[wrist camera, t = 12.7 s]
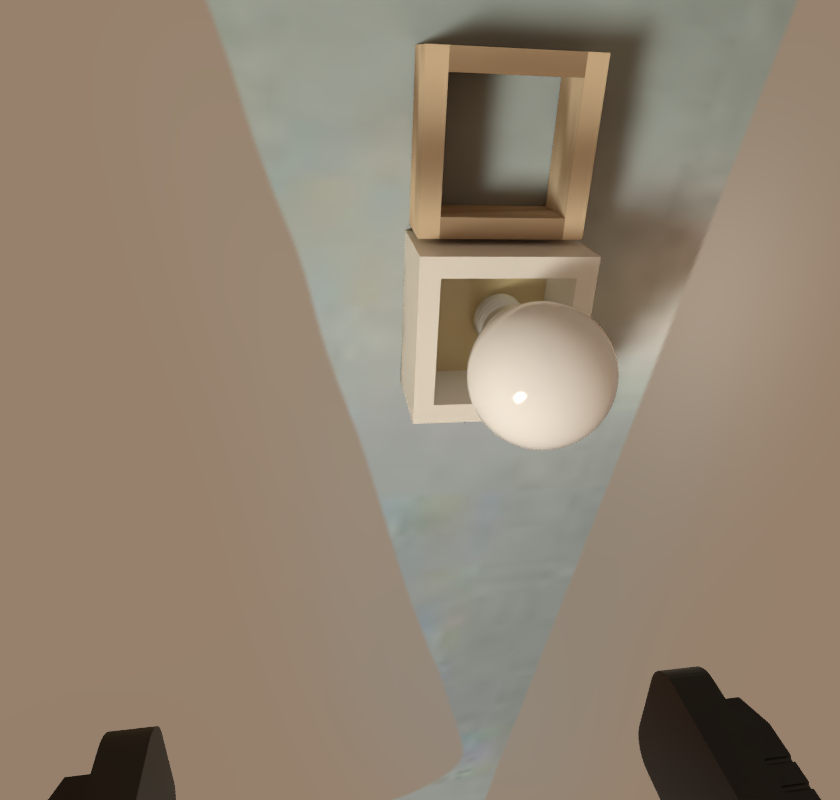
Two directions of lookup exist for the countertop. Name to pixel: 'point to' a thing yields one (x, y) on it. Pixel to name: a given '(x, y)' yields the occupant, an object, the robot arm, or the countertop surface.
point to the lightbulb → (540, 372)
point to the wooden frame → (569, 152)
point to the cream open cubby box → (474, 307)
